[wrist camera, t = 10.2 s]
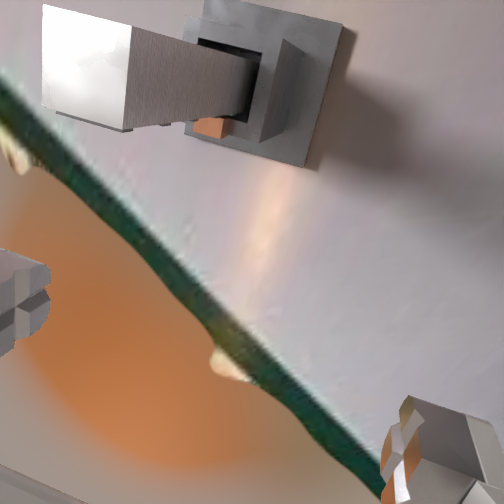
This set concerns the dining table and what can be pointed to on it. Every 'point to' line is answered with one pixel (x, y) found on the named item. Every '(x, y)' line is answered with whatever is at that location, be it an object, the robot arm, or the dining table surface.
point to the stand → (268, 76)
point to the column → (136, 74)
